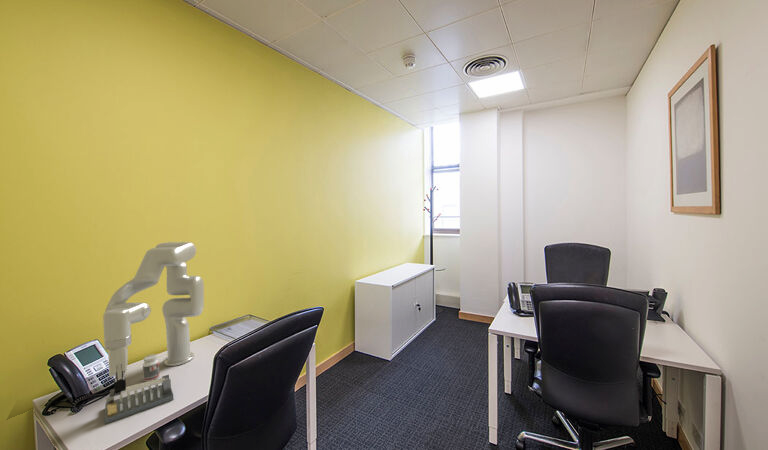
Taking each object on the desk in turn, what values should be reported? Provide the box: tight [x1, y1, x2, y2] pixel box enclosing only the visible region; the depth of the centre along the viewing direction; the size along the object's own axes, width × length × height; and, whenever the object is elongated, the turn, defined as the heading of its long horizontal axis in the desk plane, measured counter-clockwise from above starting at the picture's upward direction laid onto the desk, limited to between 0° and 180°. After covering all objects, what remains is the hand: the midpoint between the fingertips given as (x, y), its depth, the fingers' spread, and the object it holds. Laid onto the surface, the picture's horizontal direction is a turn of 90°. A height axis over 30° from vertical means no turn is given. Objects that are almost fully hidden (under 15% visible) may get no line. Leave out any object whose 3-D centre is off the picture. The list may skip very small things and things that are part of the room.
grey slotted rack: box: [104, 374, 174, 425], centre depth 117 cm, size 12×20×7 cm, turn 132°
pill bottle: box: [142, 353, 160, 382], centre depth 135 cm, size 6×6×10 cm
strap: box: [109, 377, 168, 397], centre depth 117 cm, size 18×4×1 cm, turn 132°
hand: (120, 390), depth 113 cm, fingers closed
